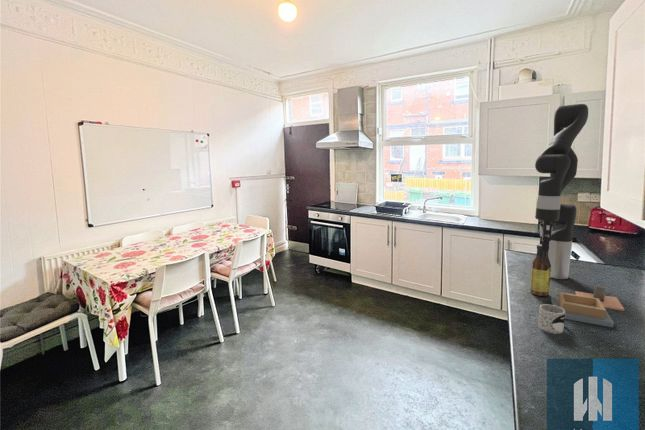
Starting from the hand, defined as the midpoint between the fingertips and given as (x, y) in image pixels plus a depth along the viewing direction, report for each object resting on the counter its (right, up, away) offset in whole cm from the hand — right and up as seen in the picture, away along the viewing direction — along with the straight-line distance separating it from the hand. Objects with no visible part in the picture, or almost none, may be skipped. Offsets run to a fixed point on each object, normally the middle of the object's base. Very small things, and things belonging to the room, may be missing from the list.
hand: (543, 248), depth 127 cm
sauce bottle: (0, -19, +3) cm, 19 cm away
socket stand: (+3, -21, -13) cm, 25 cm away
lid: (+18, -20, -4) cm, 27 cm away
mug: (-12, -23, -23) cm, 35 cm away
